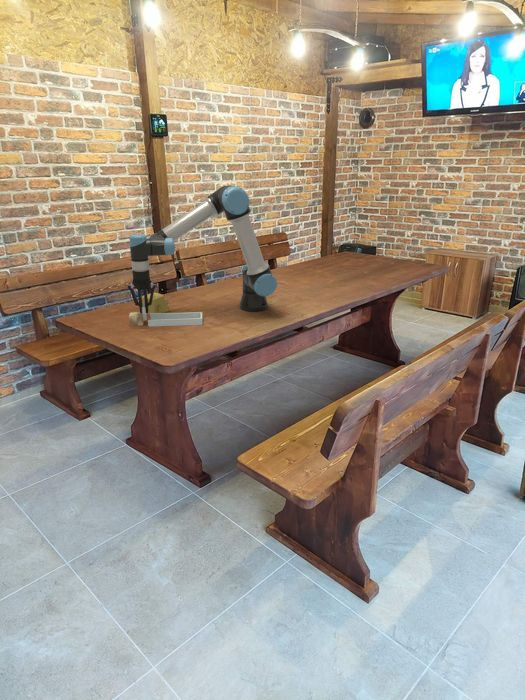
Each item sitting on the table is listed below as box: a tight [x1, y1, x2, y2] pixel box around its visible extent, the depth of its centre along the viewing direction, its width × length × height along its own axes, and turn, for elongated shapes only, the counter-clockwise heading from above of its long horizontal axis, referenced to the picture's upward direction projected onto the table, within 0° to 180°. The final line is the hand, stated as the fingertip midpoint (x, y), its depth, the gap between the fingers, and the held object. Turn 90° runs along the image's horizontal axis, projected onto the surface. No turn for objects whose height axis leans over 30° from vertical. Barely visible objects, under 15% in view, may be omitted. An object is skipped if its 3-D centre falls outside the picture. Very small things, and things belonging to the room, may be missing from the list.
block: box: [128, 311, 145, 327], centre depth 229 cm, size 6×6×6 cm
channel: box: [147, 311, 204, 328], centre depth 232 cm, size 25×11×4 cm, turn 97°
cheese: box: [142, 292, 170, 315], centre depth 246 cm, size 10×11×10 cm
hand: (144, 319), depth 230 cm, fingers closed
